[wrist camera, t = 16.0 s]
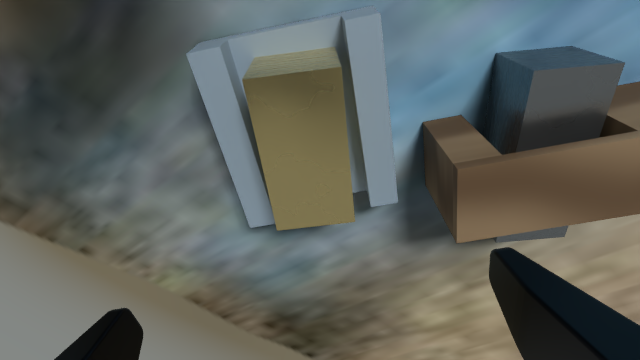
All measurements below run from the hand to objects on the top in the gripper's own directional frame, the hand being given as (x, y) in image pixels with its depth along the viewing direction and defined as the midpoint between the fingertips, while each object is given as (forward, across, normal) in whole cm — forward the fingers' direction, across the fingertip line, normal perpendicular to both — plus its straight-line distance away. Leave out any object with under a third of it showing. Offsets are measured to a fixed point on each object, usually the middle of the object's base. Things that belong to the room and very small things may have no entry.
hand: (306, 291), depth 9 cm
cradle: (+12, 0, 0) cm, 12 cm away
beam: (+12, -12, +3) cm, 17 cm away
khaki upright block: (+10, 0, 0) cm, 11 cm away
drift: (+12, -11, +3) cm, 16 cm away
